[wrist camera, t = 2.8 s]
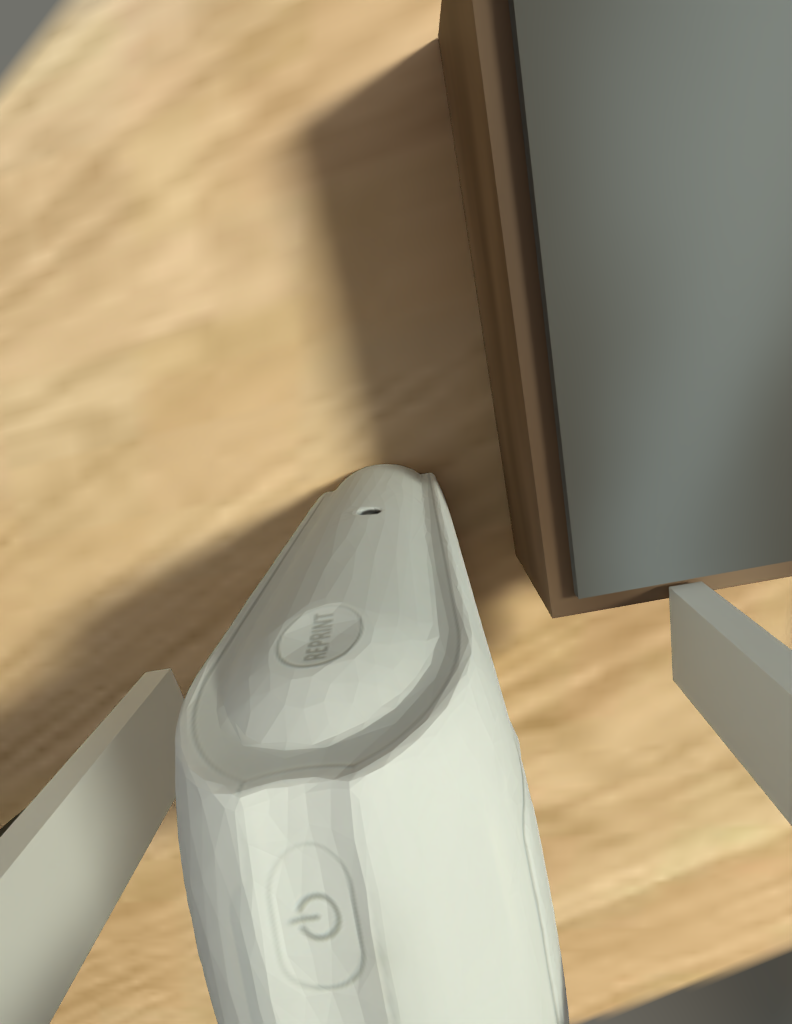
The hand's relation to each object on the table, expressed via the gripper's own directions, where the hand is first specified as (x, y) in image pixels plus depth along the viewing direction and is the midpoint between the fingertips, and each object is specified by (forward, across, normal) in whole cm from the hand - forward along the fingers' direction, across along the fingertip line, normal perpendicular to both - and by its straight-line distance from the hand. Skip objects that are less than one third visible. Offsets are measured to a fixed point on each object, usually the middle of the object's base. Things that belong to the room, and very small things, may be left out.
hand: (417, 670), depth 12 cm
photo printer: (+4, 0, 0) cm, 4 cm away
